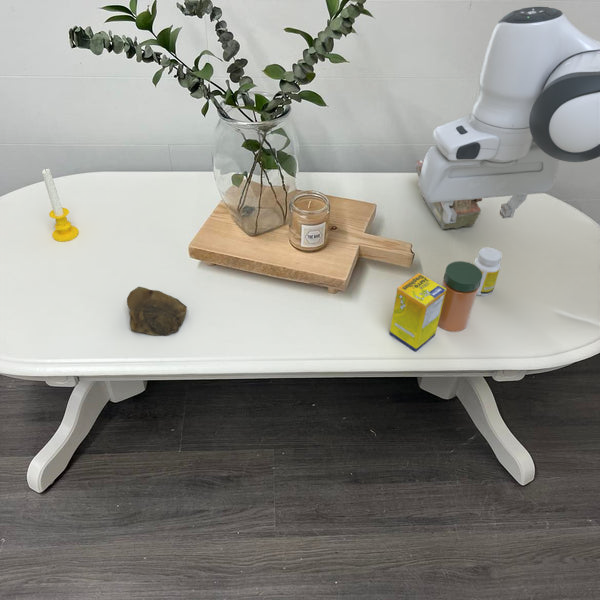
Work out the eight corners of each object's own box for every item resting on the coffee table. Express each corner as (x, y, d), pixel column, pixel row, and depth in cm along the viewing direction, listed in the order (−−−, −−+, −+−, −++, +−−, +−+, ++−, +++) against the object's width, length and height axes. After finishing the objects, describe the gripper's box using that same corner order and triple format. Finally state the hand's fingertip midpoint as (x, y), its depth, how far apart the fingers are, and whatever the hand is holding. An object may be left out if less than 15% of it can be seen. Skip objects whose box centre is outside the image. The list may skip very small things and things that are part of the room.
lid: (438, 270, 99) (440, 262, 98) (472, 267, 100) (474, 259, 98) (451, 293, 94) (453, 285, 93) (485, 290, 95) (488, 282, 94)
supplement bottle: (494, 284, 111) (506, 250, 105) (490, 299, 108) (501, 264, 102) (470, 277, 112) (480, 243, 107) (464, 291, 109) (475, 257, 103)
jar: (472, 329, 102) (487, 285, 95) (440, 333, 101) (452, 289, 94) (460, 307, 106) (473, 263, 99) (429, 310, 105) (440, 266, 98)
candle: (58, 244, 117) (36, 177, 106) (48, 232, 120) (26, 166, 109) (82, 235, 119) (63, 169, 109) (72, 224, 122) (53, 158, 112)
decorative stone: (193, 303, 105) (191, 289, 103) (176, 340, 98) (174, 325, 96) (138, 296, 106) (135, 282, 104) (118, 331, 99) (114, 317, 97)
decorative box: (417, 234, 123) (425, 195, 116) (397, 185, 137) (403, 148, 131) (477, 232, 124) (488, 193, 117) (451, 184, 138) (459, 147, 132)
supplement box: (408, 318, 103) (418, 271, 96) (435, 335, 100) (448, 288, 93) (387, 334, 100) (396, 287, 93) (415, 352, 97) (426, 305, 90)
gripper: (556, 121, 83) (529, 202, 93) (423, 129, 81) (408, 213, 90) (579, 140, 79) (549, 224, 88) (438, 150, 76) (422, 236, 85)
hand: (477, 218), depth 89 cm, fingers open, 8 cm apart
